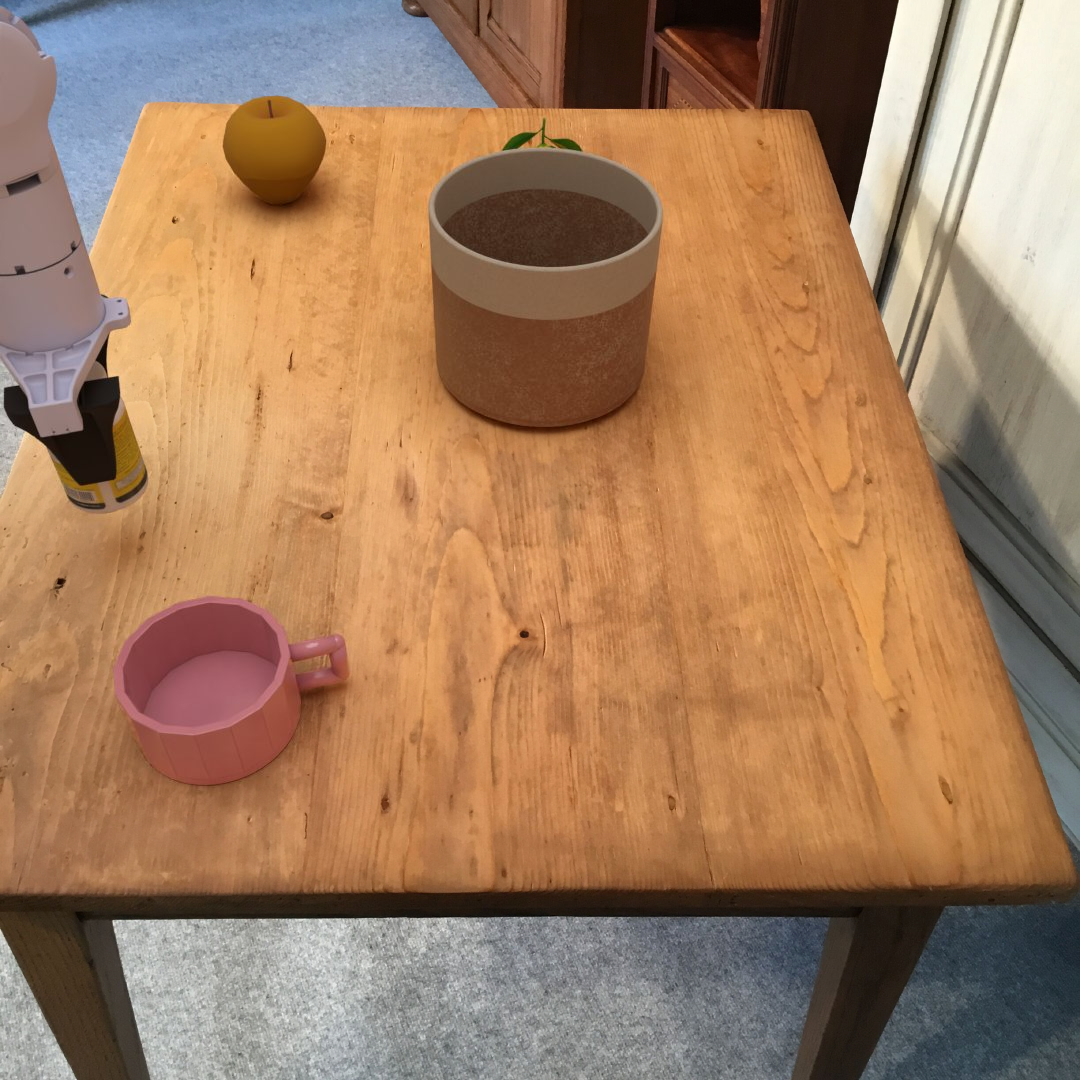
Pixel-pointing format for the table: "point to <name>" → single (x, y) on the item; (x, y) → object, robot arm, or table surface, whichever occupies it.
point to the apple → (274, 147)
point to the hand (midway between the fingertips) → (95, 449)
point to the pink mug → (217, 687)
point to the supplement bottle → (129, 468)
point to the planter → (543, 283)
